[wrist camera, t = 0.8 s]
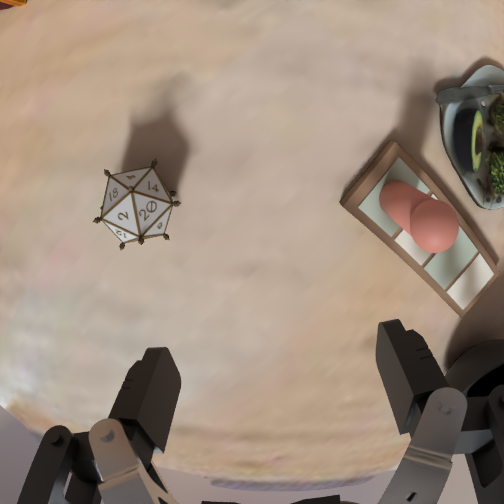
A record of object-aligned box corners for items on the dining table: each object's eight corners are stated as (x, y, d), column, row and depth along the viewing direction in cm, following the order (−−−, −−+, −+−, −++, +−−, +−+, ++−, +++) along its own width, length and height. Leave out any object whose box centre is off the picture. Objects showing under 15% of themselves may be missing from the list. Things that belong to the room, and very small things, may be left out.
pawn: (394, 169, 29) (449, 196, 19) (420, 195, 30) (476, 231, 20) (369, 201, 30) (413, 240, 20) (395, 225, 31) (443, 272, 21)
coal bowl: (398, 391, 45) (429, 482, 28) (472, 301, 37) (538, 386, 20) (460, 401, 48) (491, 470, 30) (521, 329, 40) (571, 393, 23)
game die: (159, 171, 35) (156, 127, 25) (193, 232, 35) (200, 204, 25) (93, 207, 32) (68, 173, 23) (125, 271, 32) (105, 257, 23)
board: (390, 140, 29) (396, 141, 27) (495, 268, 35) (501, 273, 33) (339, 202, 32) (343, 207, 31) (456, 312, 38) (461, 318, 36)
